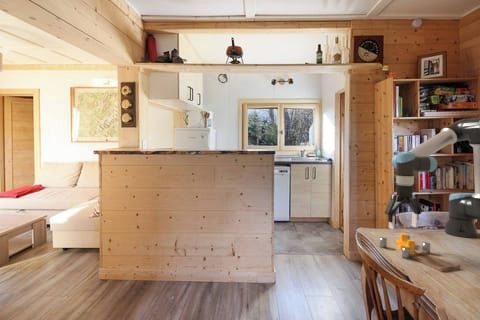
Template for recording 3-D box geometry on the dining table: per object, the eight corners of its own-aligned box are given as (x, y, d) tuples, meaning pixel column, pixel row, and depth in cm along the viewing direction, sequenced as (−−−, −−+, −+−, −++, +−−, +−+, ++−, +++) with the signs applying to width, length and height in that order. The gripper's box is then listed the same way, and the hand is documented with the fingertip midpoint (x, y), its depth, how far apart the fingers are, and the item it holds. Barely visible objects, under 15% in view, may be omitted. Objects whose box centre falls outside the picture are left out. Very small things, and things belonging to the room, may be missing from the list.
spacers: (406, 243, 158) (406, 234, 157) (436, 255, 140) (436, 245, 140) (378, 246, 153) (378, 237, 153) (405, 259, 136) (406, 249, 136)
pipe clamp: (396, 245, 155) (396, 233, 154) (405, 246, 154) (405, 233, 153) (404, 254, 143) (404, 240, 142) (414, 254, 142) (414, 241, 142)
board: (427, 254, 141) (427, 251, 141) (460, 268, 126) (460, 265, 126) (409, 257, 138) (409, 254, 138) (441, 271, 123) (441, 268, 123)
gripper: (419, 182, 153) (417, 223, 155) (377, 184, 147) (376, 227, 148) (432, 184, 146) (430, 227, 147) (388, 186, 139) (387, 231, 141)
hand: (403, 227), depth 148 cm, fingers open, 13 cm apart
